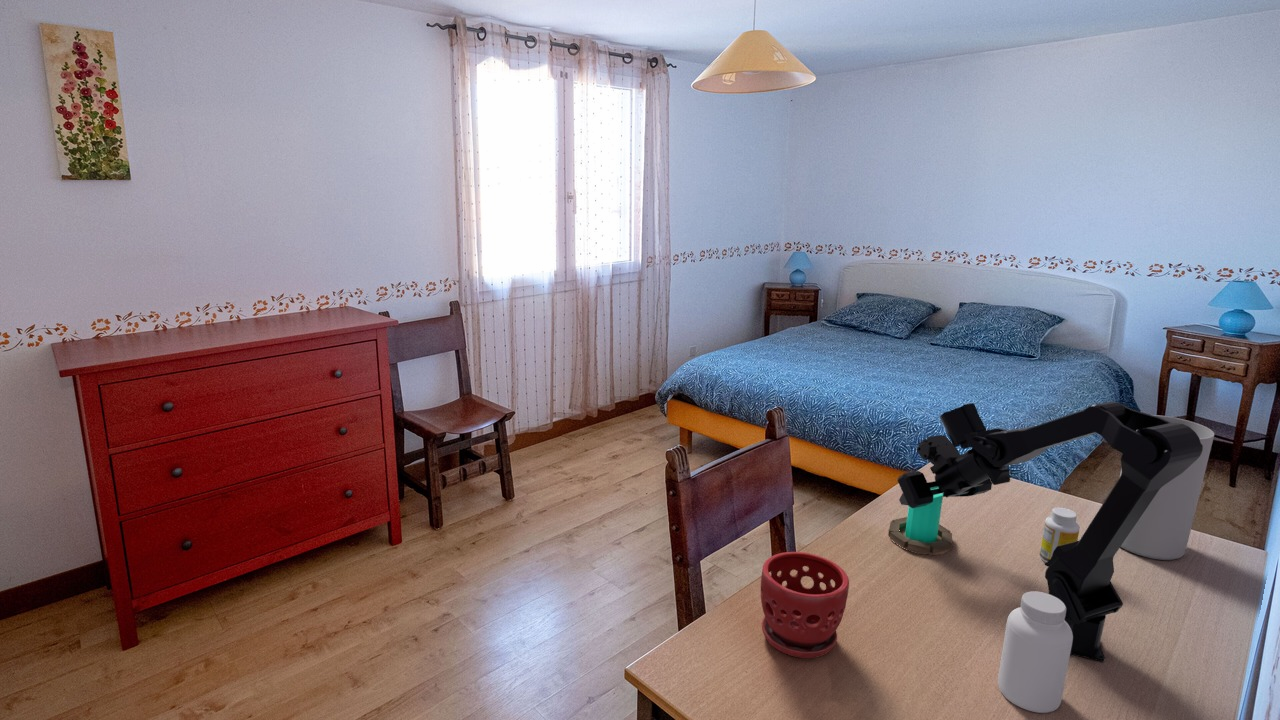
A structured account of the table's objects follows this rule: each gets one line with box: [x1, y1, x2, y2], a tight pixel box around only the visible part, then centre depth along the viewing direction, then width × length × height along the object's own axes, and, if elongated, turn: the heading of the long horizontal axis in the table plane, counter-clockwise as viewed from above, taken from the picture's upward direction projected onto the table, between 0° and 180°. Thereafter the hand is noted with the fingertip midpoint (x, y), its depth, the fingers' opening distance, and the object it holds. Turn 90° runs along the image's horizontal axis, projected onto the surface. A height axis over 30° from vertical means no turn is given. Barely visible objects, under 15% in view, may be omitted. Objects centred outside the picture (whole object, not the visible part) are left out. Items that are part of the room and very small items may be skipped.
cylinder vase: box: [1118, 414, 1215, 561], centre depth 134 cm, size 12×12×25 cm
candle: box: [905, 488, 944, 543], centre depth 137 cm, size 6×6×12 cm
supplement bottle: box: [1039, 507, 1081, 563], centre depth 130 cm, size 6×6×10 cm
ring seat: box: [887, 516, 953, 556], centre depth 139 cm, size 12×12×2 cm
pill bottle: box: [997, 590, 1073, 714], centre depth 96 cm, size 8×8×15 cm
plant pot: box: [760, 551, 850, 659], centre depth 108 cm, size 13×13×12 cm
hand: (919, 498), depth 138 cm, fingers open, 9 cm apart
